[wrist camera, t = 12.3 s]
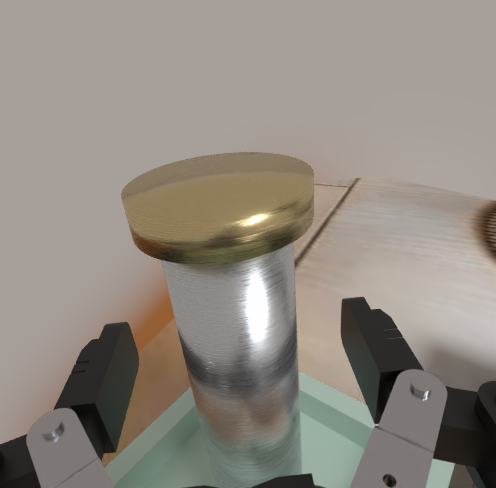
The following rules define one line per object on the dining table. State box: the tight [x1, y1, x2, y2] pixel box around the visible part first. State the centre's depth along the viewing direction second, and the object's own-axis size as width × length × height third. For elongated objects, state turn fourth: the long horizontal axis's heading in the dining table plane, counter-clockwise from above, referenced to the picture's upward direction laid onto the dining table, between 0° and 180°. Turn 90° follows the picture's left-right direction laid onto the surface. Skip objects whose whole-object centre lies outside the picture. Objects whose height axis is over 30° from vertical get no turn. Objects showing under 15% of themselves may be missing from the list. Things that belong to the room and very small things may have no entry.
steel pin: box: [121, 152, 314, 488], centre depth 14 cm, size 5×5×17 cm
